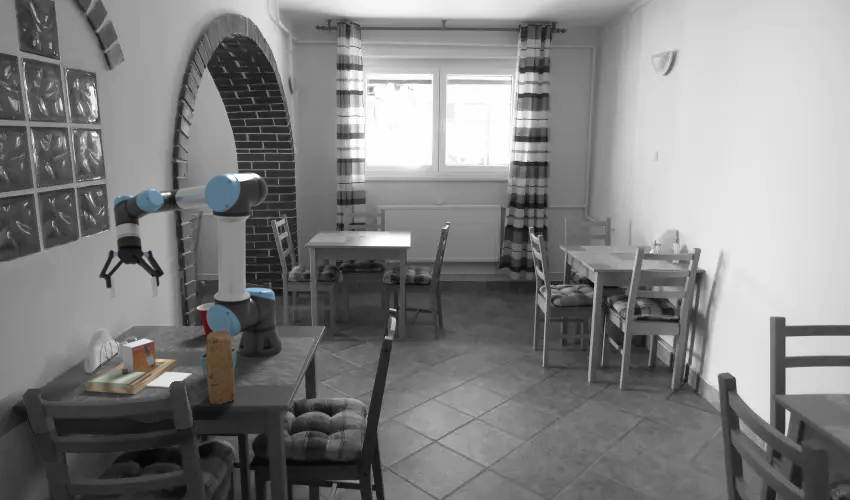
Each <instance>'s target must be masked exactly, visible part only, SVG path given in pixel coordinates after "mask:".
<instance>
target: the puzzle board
mask: <svg viewBox="0 0 850 500" xmlns="http://www.w3.org/2000/svg"><path fill="white" fill-rule="evenodd" d="M155 361H156V369H154V370H153V371H151V372H150V373H146V372H132V371H128V369H124V366H123V362H121V364H119V365H117V366H115V367H113V368H112V369H110V370H109V369H108V370H106V371H104V372H102V373H101V374H98V375H96V376H95V377H94V378H92V379H89V380H88V381H87V382H86V384H85V392H96V393H97V392H101V393H114V394H129V395H132V394H133V395H136V394H138V393H139V392H140V391H142V390H143V389H145V388H146V385H147V384H149V383H150V382H152V381H153V380H155V379H156V378H158V377H159V376H160V375H162V374H163V373H165V372H171V370H173V369H174V368H175V367H177V366H178V361H177V359H167V358H166V359H165V358H162V359H161V358H155Z"/></svg>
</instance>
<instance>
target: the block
mask: <svg viewBox="0 0 850 500" xmlns="http://www.w3.org/2000/svg"><path fill="white" fill-rule="evenodd" d="M205 343H206V344H205V345H206V350H205V353H206V357H207V378H206V381H207V393H208V400H209V403H210V404H212V405H221V404H220V403H225V402H228V401H230V402H232V401H231V400H233V401H234V400H235V399H236V384H235V368H234V366H233V354H232V349H233V346H232V345H233V344H232V336H231V335H230V332H228V331H216V332H211V333H209V334H208V335H207V336H206V342H205ZM228 403H229V402H228ZM225 404H226V403H225Z"/></svg>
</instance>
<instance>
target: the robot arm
mask: <svg viewBox="0 0 850 500" xmlns="http://www.w3.org/2000/svg"><path fill="white" fill-rule="evenodd" d="M267 195H268V185H267V183H266V181H265V179H264V178H263V177H262V176H260V175H259V174H257V173H255V172H249V171H248V172H232V173H231V172H230V173H229V172H228V173H227V172H226V173H221V174H216V175H214V176H212V177H211V179H210V180H209V181H207V184H205V185H204V184H203V185H199V186H191V187H186V188H185V187H184V188H178V189H171V190H170V189H169V190H160V191H159V190H156V189H154V188H148V189H146V190H142V191H141V192H139V193H138V194H136V195H135V196H133V195H128V194H127V195H126V194H125V195H120V196H117V197H115V198H114V200H113V213H114V214H113V215H114V222H115V233H116V239H117V240H116V242H117V243H116V244H117V251H114V250H113V249H110V250H109V251H108V253H107V258H106V261H105V263H104V265H103V267H102V269H101V271H100V273H99V275H98V277H99V278H100V279H104V280H105V285H106V286H105V287H106V289H109V296H110V297H109V298H110V299H115V297H116V291H115V278H114V277H112V276H113V275H114V274H115V272H116V271H117V270H118V269H119V268H120V267H121V266H122V265H123V264H124V265H136V264H137V265H138V266H139V267H141V268H142V269H144V270H145V272H146V273H148V275H149V276H151V277H152V278H150V279H151V280H150V281H151V289H152V290H151V291H152V297H154V298H155V297H157V296H158V294H159V293H158V287H159V286H160V278H161V277H162V276H163V275H164V274H165V272H164V271H163V269H162V268H161V265H159V263H158V262H157V260H156V258H154V256H153V250H148V251H143V249H142V248H143V247H142V241H141V231H140V229H141V228H140V220H141V219H142V218H144V217H145V216H148V215H151V214H157V213H165V212H173V211H182V210H187V209H195V208H196V209H198V208H204V207H205V208H206V207H209V209H211V210H212V216H213V217H214V218H215V219H216V220H217V246H218V249H217V253H218V255H217V257H218V258H217V261H218V267H217V269H218V291H217V292H216V293H215V294H214V295H213V303H214V305H213V306H211V307H210V309H209V310H208V311H207V316H206V317H207V322H208V325H209V327H210V328H211V329H212V330H213V332H216V331H228V332H230V335H231V337H233V336H237V335H239V334H241V336H240V340H239V344H238V354H239V355H240V356H242V357H246V358H265V357H269V356H270V357H271V356H274V355H276V354H279V353H280V352H281V351H282V350H283V346H282V340H281V338H280V335H279V334H278V329H277V318H276V314H277V313H276V297H275V292H274V291H273V290H272V289H271V288H264V287H247V286H246V284H247V281H246V275H247V274H246V270H247V269H246V268H247V267H246V263H247V261H246V257H247V255H246V254H247V253H246V250H247V249H246V246H247V245H246V244H247V243H246V237H247V236H246V233H247V232H246V231H247V230H246V228H247V227H246V224H247V223H246V221H247V219H249V218H250V217H251V208H252V207H256V206H259V205H260V204H261V203H263V202H264V201H265V199H266V197H267ZM115 257H117V258H119V260H118V262H117V263H116V264H115V266H114V267H113V268H112V269H111V270H110V271H109V272H108V273H107V271H108V269H109V267H110V266H111V263H112V261H113V259H114V258H115ZM143 257H145V258H146V260H147V261H148V263H147V262H146V261H145V259H144V258H143ZM149 264H150V265H149ZM246 287H247V288H246Z"/></svg>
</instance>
